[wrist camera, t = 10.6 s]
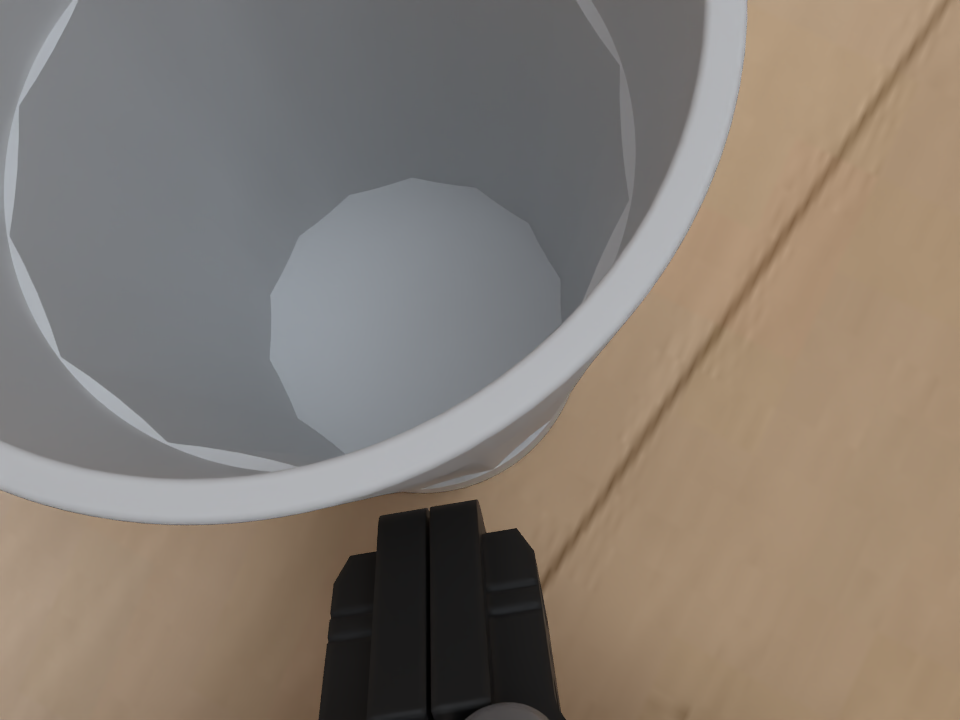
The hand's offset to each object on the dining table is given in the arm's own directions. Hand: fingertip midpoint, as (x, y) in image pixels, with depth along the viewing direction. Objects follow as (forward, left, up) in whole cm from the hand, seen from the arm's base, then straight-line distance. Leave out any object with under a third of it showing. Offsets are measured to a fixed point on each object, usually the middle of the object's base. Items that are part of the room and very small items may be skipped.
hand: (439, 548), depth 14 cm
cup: (0, +4, -4) cm, 6 cm away
